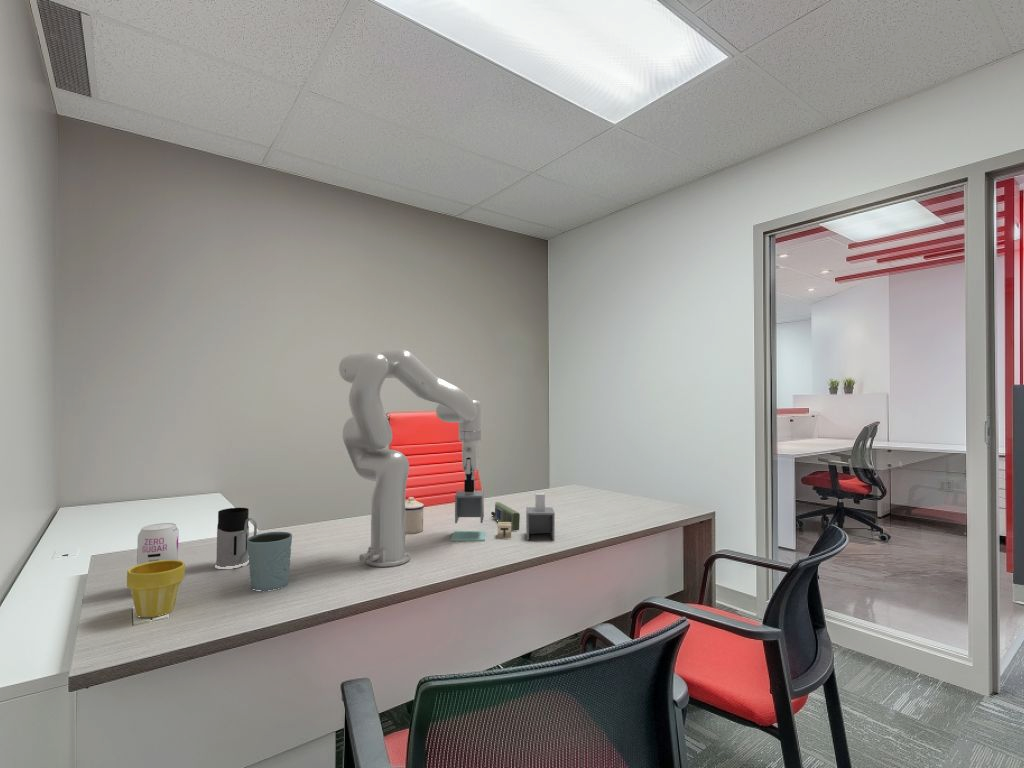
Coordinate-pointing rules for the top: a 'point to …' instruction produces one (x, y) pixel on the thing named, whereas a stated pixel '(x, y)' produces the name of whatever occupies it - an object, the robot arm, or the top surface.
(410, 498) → the teacup with lid
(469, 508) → the cover
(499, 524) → the letter cube
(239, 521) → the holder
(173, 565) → the plant pot
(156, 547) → the supplement can
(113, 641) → the top surface
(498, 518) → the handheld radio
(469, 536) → the mat
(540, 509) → the cover
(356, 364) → the robot arm
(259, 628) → the top surface
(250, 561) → the teal cup
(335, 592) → the top surface
